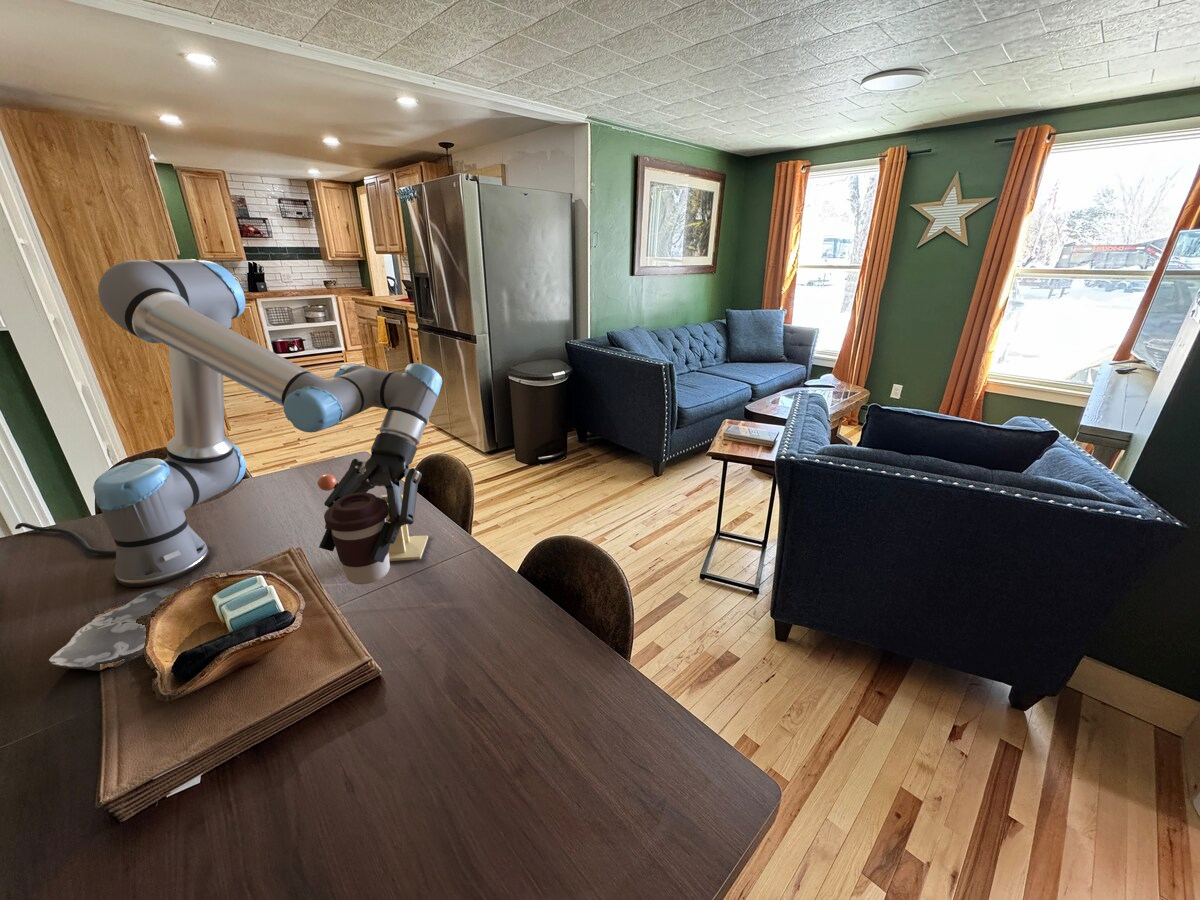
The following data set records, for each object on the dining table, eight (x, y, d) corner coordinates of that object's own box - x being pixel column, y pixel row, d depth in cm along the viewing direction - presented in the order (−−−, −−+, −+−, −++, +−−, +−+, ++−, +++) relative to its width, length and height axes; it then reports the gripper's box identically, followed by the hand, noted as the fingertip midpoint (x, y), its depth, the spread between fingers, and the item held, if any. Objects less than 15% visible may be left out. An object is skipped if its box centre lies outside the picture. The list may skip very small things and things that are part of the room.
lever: (312, 489, 101) (318, 476, 100) (319, 482, 104) (324, 469, 103) (392, 519, 106) (398, 506, 105) (396, 511, 109) (402, 498, 108)
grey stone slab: (139, 682, 76) (132, 669, 75) (35, 679, 76) (27, 665, 75) (230, 601, 94) (225, 588, 93) (146, 598, 94) (140, 586, 93)
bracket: (365, 564, 106) (355, 510, 101) (377, 542, 115) (368, 491, 109) (420, 561, 108) (413, 508, 103) (428, 539, 116) (421, 489, 111)
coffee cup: (375, 594, 81) (361, 519, 76) (325, 585, 83) (307, 511, 77) (408, 561, 90) (398, 491, 85) (362, 553, 92) (349, 485, 86)
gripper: (459, 455, 90) (418, 571, 82) (361, 440, 96) (314, 547, 88) (440, 438, 84) (393, 563, 76) (336, 423, 89) (282, 538, 81)
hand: (350, 555), depth 82 cm, fingers closed on coffee cup, 10 cm apart
